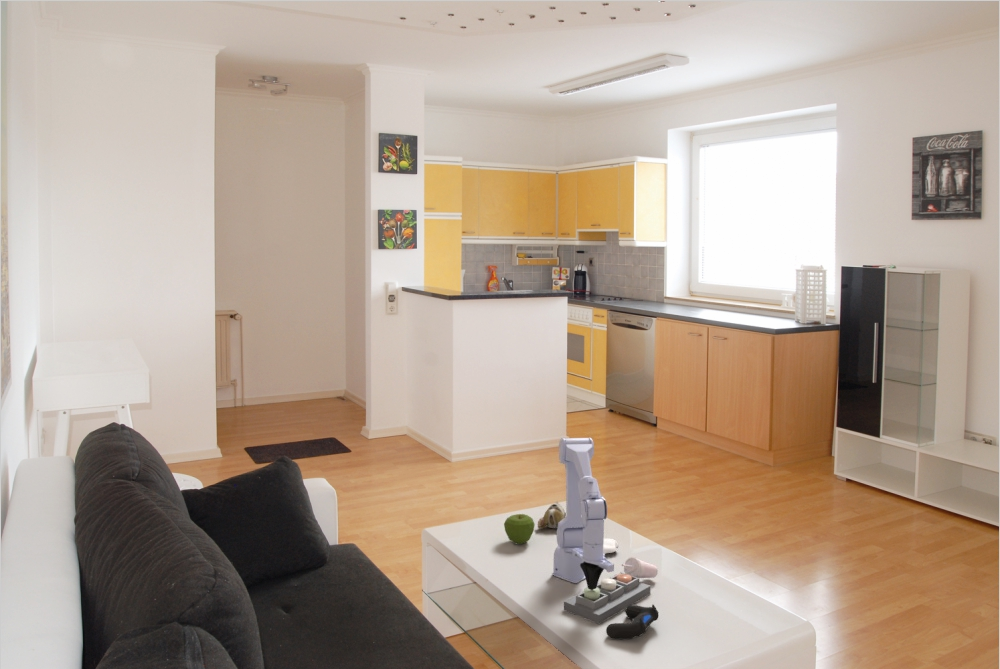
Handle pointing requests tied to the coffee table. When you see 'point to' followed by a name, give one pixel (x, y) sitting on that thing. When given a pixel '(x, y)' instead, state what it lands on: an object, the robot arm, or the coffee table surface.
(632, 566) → the smoothie
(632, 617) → the gaming controller
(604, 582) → the offwhite button
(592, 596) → the sage button
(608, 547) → the figurine
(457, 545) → the coffee table surface
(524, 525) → the apple
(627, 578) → the peach button
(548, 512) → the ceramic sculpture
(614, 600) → the button panel
